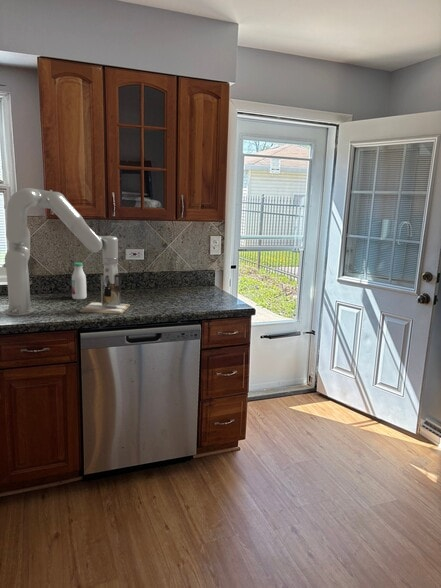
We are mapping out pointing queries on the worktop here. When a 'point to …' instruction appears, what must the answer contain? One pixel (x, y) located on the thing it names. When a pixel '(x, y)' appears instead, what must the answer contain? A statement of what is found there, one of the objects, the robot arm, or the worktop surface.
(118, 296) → the coffee box
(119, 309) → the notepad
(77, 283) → the milk bottle
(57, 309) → the worktop surface
